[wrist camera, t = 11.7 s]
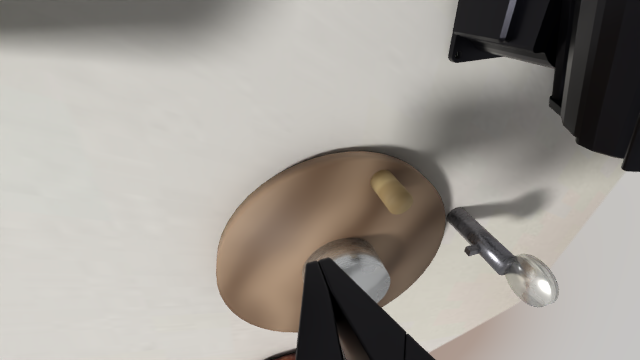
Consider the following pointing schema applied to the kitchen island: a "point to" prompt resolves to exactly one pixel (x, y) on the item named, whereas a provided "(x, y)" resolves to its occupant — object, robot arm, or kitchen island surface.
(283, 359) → the bread
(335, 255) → the cover
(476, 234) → the ice cream scoop
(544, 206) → the kitchen island surface
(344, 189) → the disc
